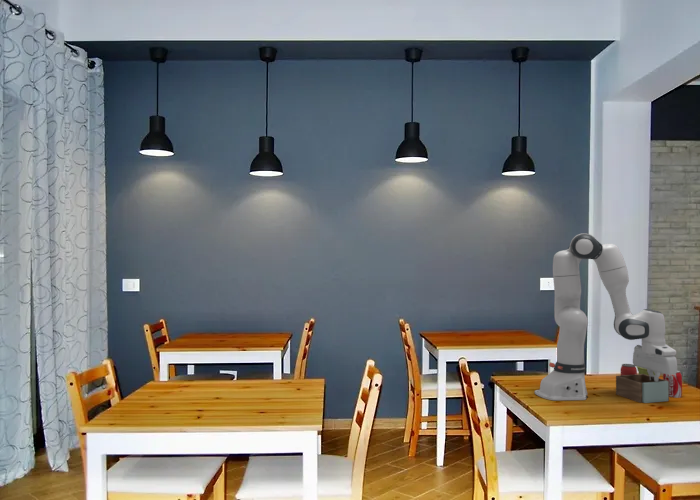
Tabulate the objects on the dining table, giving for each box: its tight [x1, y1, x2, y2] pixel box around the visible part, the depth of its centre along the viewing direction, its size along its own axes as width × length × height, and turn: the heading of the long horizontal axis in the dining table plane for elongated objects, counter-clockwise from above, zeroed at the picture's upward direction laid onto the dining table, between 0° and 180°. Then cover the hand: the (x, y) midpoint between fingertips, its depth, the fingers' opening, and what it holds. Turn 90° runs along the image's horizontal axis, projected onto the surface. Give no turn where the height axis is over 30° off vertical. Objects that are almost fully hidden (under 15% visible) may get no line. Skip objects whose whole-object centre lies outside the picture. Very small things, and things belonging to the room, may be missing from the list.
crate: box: [615, 373, 670, 404], centre depth 228 cm, size 14×14×9 cm
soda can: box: [662, 369, 683, 399], centre depth 231 cm, size 7×7×12 cm
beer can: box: [620, 363, 638, 375], centre depth 242 cm, size 7×7×12 cm
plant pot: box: [635, 366, 655, 376], centre depth 253 cm, size 9×9×9 cm
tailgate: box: [642, 381, 669, 404], centre depth 221 cm, size 12×1×8 cm, turn 105°
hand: (654, 380), depth 225 cm, fingers closed
